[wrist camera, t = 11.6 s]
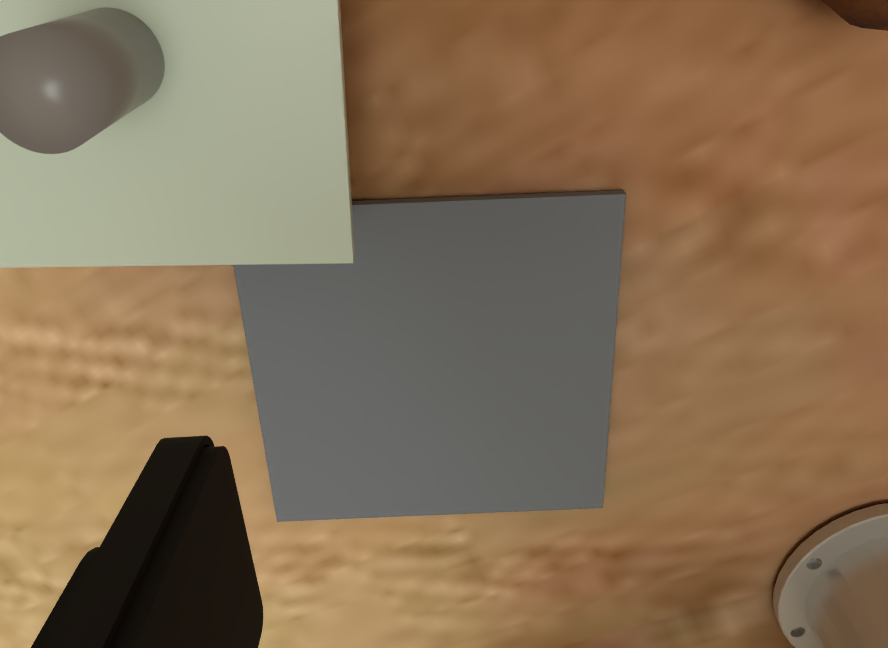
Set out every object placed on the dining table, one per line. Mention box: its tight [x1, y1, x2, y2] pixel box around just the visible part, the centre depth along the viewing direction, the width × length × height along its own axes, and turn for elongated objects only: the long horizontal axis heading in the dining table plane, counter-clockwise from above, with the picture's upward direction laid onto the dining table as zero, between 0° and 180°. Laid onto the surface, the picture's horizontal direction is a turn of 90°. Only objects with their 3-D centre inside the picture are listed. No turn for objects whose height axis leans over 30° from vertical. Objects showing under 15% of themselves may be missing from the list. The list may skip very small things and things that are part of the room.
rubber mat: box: [233, 190, 626, 522], centre depth 40 cm, size 18×18×1 cm
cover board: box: [0, 0, 355, 268], centre depth 24 cm, size 15×15×7 cm
